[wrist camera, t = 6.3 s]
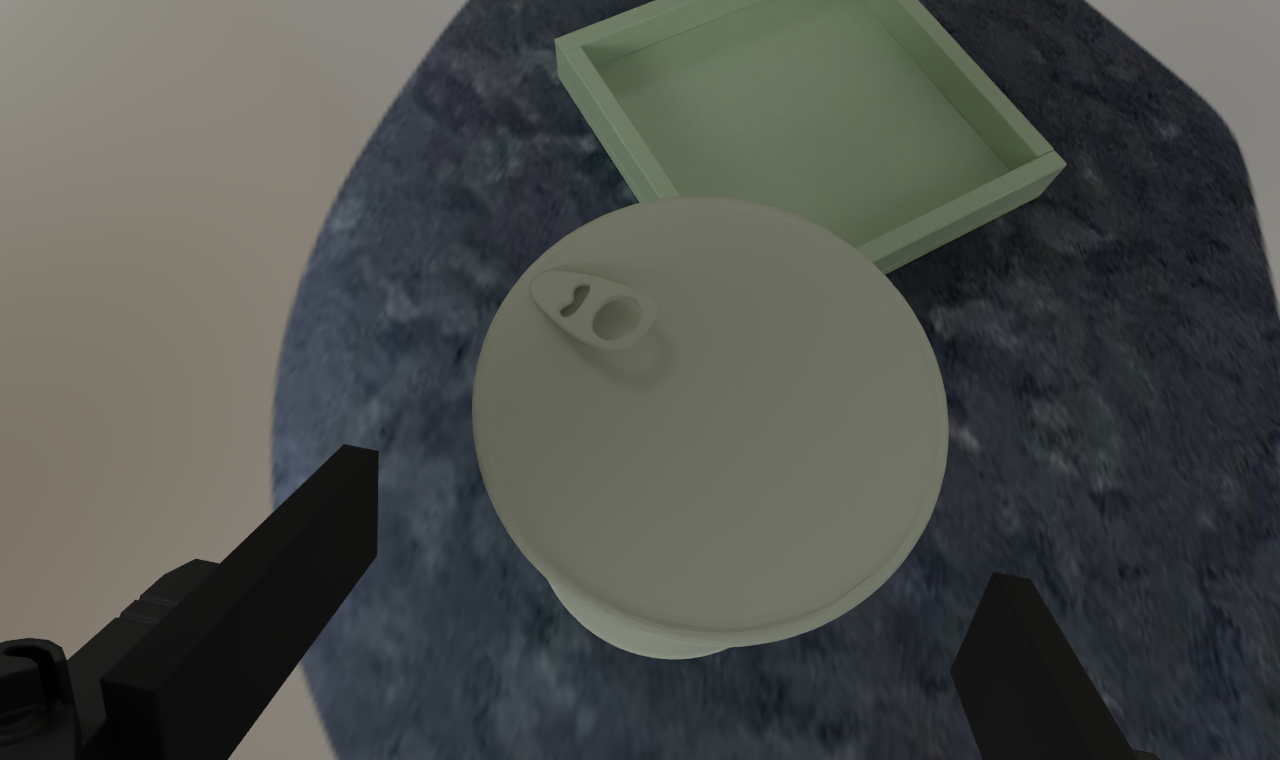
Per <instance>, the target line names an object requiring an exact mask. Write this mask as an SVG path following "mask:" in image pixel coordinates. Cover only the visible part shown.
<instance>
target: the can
mask: <svg viewBox="0 0 1280 760" xmlns="http://www.w3.org/2000/svg"><path fill="white" fill-rule="evenodd" d="M472 421H473V436H474V442H475V448H476V453H477V459H478V464H479V468H480V471H481V475H482V478H483V481H484V484H485V487H486V489H487V492H488V494H489V497H490V499H491V502H492V504H493V506H494V508H495V510H496V512H497V514H498V516H499V518H500V520H501V522H502V523H503V525H504V527H505V528H506V530H507V532H508V533H509V535H510V536H511V538H512V539H513V540H514V542H515V543H516V545H517V546H518V548H519V549H520V550H521V552H522V553H523V554H524V555H525V556H526V558H527V559H528V560H529V561H530V562H531V563H532V564H533V565H534V566H535V567H536V568H537V569H538V570H539V571H540V572H541V573H542V574H543V575H544V576H545V577H546V578H547V580H548V581H549V583H550V585H551V587H552V589H553V590H554V592H555V594H556V595H557V597H558V598H559V600H560V601H561V602H562V604H563V605H564V606H565V607H566V609H567V610H568V611H569V612H570V613H571V614H572V615H573V616H574V617H575V618H576V619H577V620H578V621H579V622H580V623H581V624H582V625H583V626H584V627H586V628H587V629H588V630H589V631H591V632H592V633H593V634H595V635H596V636H598V637H599V638H601V639H603V640H604V641H606V642H608V643H610V644H612V645H614V646H616V647H618V648H621V649H623V650H626V651H628V652H632V653H635V654H638V655H642V656H647V657H652V658H661V659H690V658H696V657H702V656H706V655H710V654H713V653H717V652H720V651H722V650H725V649H727V648H730V647H741V646H750V645H758V644H764V643H770V642H775V641H779V640H783V639H787V638H790V637H794V636H796V635H799V634H802V633H805V632H808V631H811V630H813V629H816V628H818V627H820V626H822V625H824V624H826V623H828V622H830V621H832V620H834V619H836V618H838V617H839V616H841V615H843V614H844V613H846V612H848V611H849V610H851V609H852V608H854V607H856V606H857V605H858V604H859V603H861V602H862V601H863V600H865V599H866V598H867V597H869V596H870V595H871V594H872V593H873V592H875V591H876V590H877V589H878V588H879V587H880V586H881V585H882V584H883V583H884V582H886V581H887V580H888V579H889V577H890V576H891V575H892V574H893V573H894V572H895V571H896V570H897V569H898V568H899V566H900V565H901V564H902V563H903V561H904V560H905V559H906V557H907V556H908V554H909V553H910V552H911V550H912V549H913V547H914V546H915V544H916V542H917V541H918V539H919V538H920V536H921V535H922V533H923V531H924V529H925V527H926V525H927V523H928V521H929V519H930V517H931V514H932V512H933V509H934V507H935V504H936V501H937V499H938V496H939V492H940V488H941V484H942V481H943V477H944V473H945V467H946V460H947V452H948V427H949V424H948V413H947V403H946V395H945V390H944V386H943V381H942V377H941V373H940V370H939V367H938V364H937V360H936V357H935V354H934V352H933V349H932V347H931V345H930V343H929V340H928V338H927V336H926V334H925V332H924V330H923V328H922V326H921V324H920V323H919V321H918V319H917V317H916V316H915V314H914V312H913V311H912V309H911V307H910V306H909V304H908V303H907V302H906V300H905V299H904V297H903V296H902V295H901V294H900V292H899V291H898V290H897V289H896V288H895V286H894V285H893V284H892V283H891V282H890V280H889V279H888V278H887V277H886V276H885V275H884V274H883V273H882V272H881V271H880V270H879V269H878V268H877V267H876V266H875V265H874V264H873V263H872V262H871V261H870V260H869V259H867V258H866V257H865V256H864V255H863V254H861V253H860V252H859V251H858V250H856V249H855V248H854V247H853V246H851V245H850V244H848V243H847V242H846V241H844V240H843V239H841V238H839V237H838V236H836V235H835V234H833V233H832V232H830V231H828V230H826V229H825V228H823V227H821V226H819V225H817V224H815V223H813V222H811V221H809V220H807V219H805V218H803V217H801V216H798V215H796V214H793V213H791V212H788V211H785V210H782V209H779V208H776V207H773V206H769V205H765V204H761V203H757V202H753V201H749V200H743V199H737V198H730V197H720V196H682V197H671V198H663V199H657V200H652V201H647V202H643V203H638V204H634V205H631V206H628V207H625V208H622V209H619V210H616V211H613V212H611V213H608V214H606V215H603V216H601V217H599V218H597V219H595V220H593V221H591V222H589V223H587V224H585V225H583V226H582V227H580V228H578V229H577V230H575V231H573V232H572V233H570V234H568V235H567V236H565V237H564V238H562V239H561V240H560V241H559V242H557V243H556V244H555V245H553V246H552V247H551V248H550V249H548V250H547V251H546V252H545V253H544V254H543V255H542V256H541V257H539V258H538V259H537V260H536V261H535V262H534V263H533V264H532V265H531V266H530V267H529V268H528V269H527V270H526V272H525V273H524V274H523V275H522V276H521V277H520V279H519V280H518V281H517V283H516V284H515V285H514V286H513V288H512V289H511V291H510V292H509V294H508V295H507V297H506V298H505V299H504V301H503V303H502V304H501V306H500V308H499V310H498V312H497V313H496V315H495V317H494V319H493V321H492V323H491V326H490V328H489V331H488V333H487V335H486V338H485V341H484V344H483V347H482V350H481V353H480V357H479V361H478V364H477V369H476V374H475V382H474V390H473V398H472Z"/></svg>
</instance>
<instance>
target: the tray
mask: <svg viewBox="0 0 1280 760" xmlns="http://www.w3.org/2000/svg"><path fill="white" fill-rule="evenodd" d="M555 48H556V58H557V67H558V78H559V79H560V81H561V82H562V84H563V85H564V87H565V88H566V90H567V91H568V93H569V94H570V96H571V98H572V99H573V101H574V102H575V104H576V105H577V107H578V108H579V110H580V111H581V113H582V115H583V116H584V118H585V119H586V121H587V122H588V124H589V125H590V127H591V128H592V130H593V132H594V133H595V135H596V136H597V138H598V139H599V141H600V142H601V144H602V145H603V147H604V148H605V150H606V152H607V153H608V155H609V156H610V158H611V159H612V161H613V162H614V164H615V165H616V167H617V169H618V170H619V172H620V173H621V175H622V176H623V178H624V179H625V181H626V182H627V184H628V185H629V187H630V189H631V190H632V192H633V193H634V195H635V196H636V198H637V199H638V201H639V202H640V203H643V202H647V201H652V200H657V199H663V198H671V197H682V196H720V197H730V198H737V199H743V200H749V201H753V202H757V203H761V204H765V205H769V206H773V207H776V208H779V209H782V210H785V211H788V212H791V213H793V214H796V215H798V216H801V217H803V218H805V219H807V220H809V221H811V222H813V223H815V224H817V225H819V226H821V227H823V228H825V229H826V230H828V231H830V232H832V233H833V234H835V235H836V236H838V237H839V238H841V239H843V240H844V241H846V242H847V243H848V244H850V245H851V246H853V247H854V248H855V249H856V250H858V251H859V252H860V253H861V254H863V255H864V256H865V257H866V258H867V259H869V260H870V261H871V262H872V263H873V264H874V265H875V266H876V267H877V268H878V269H879V270H880V271H881V272H882V273H883V274H884V275H885V274H887V273H889V272H891V271H893V270H895V269H897V268H899V267H901V266H903V265H905V264H907V263H909V262H911V261H913V260H915V259H917V258H919V257H921V256H923V255H925V254H927V253H929V252H931V251H933V250H935V249H937V248H938V247H940V246H942V245H944V244H946V243H948V242H950V241H952V240H954V239H956V238H958V237H960V236H962V235H964V234H966V233H968V232H970V231H972V230H974V229H976V228H978V227H980V226H982V225H984V224H986V223H988V222H990V221H992V220H994V219H996V218H998V217H999V216H1001V215H1003V214H1005V213H1007V212H1009V211H1011V210H1013V209H1015V208H1017V207H1019V206H1021V205H1023V204H1025V203H1027V202H1029V201H1031V200H1033V199H1035V198H1037V197H1039V196H1040V195H1041V193H1042V192H1043V191H1044V190H1045V188H1046V187H1047V186H1048V185H1049V184H1050V183H1051V182H1052V181H1053V180H1054V179H1055V177H1056V176H1057V175H1058V174H1059V173H1060V172H1061V171H1062V170H1063V168H1064V167H1065V166H1066V162H1065V161H1064V160H1063V159H1062V158H1061V157H1060V156H1059V155H1058V154H1057V153H1056V151H1053V147H1052V146H1051V145H1050V144H1049V143H1048V142H1047V141H1046V140H1045V139H1044V138H1043V136H1042V135H1041V134H1040V133H1039V132H1038V131H1037V130H1036V129H1035V128H1034V127H1033V125H1032V124H1031V123H1030V122H1029V121H1028V120H1027V119H1026V118H1025V117H1024V116H1023V115H1022V113H1021V112H1020V111H1019V110H1018V109H1017V108H1016V107H1015V106H1014V105H1013V104H1012V102H1011V101H1010V100H1009V99H1008V98H1007V97H1006V96H1005V95H1004V94H1003V93H1002V92H1001V90H1000V89H999V88H998V87H997V86H996V85H995V84H994V83H993V82H992V81H991V79H990V78H989V77H988V76H987V75H986V74H985V73H984V72H983V71H982V70H981V69H980V67H979V66H978V65H977V64H976V63H975V62H974V61H973V60H972V59H971V58H970V56H969V55H968V54H967V53H966V52H965V51H964V50H963V49H962V48H961V47H960V46H959V44H958V43H957V42H956V41H955V40H954V39H953V38H952V37H951V36H950V35H949V33H948V32H947V31H946V30H945V29H944V28H943V27H942V26H941V25H940V24H939V23H938V21H937V20H936V19H935V18H934V17H933V16H932V15H931V14H930V13H929V12H928V10H927V9H926V8H925V7H924V6H923V5H922V4H921V3H920V2H919V1H918V0H655V1H652V2H649V3H647V4H644V5H642V6H639V7H636V8H634V9H631V10H629V11H626V12H623V13H621V14H618V15H616V16H613V17H611V18H608V19H605V20H603V21H600V22H598V23H595V24H592V25H590V26H587V27H585V28H582V29H579V30H577V31H574V32H572V33H569V34H566V35H564V36H561V37H559V38H556V39H555Z"/></svg>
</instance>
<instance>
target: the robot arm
mask: <svg viewBox="0 0 1280 760" xmlns="http://www.w3.org/2000/svg"><path fill="white" fill-rule="evenodd" d="M378 459H379V451H376V450H371V449H366V448H361V447H355V446H350V445H345V444H344V445H343V446H342V447H341V448H340V449H339V450H338V451H337V452H336V453H334V454H333V455H332V456H331V457H330V458H329V459H328V460H327V461H326V462H325V463H324V464H323V465H322V466H321V467H320V468H319V469H318V470H317V471H316V472H315V473H314V474H313V475H312V476H311V477H309V478H308V479H307V480H306V481H305V482H304V483H303V484H302V485H301V486H300V487H299V488H298V489H297V490H296V491H295V492H294V493H293V494H292V495H291V496H290V497H289V498H288V499H287V500H286V501H285V502H283V503H282V504H281V505H280V506H279V507H278V508H277V509H276V510H275V511H274V512H273V513H272V514H271V515H270V516H269V517H268V518H267V519H266V520H265V521H264V522H263V523H262V524H261V525H260V526H259V527H257V529H255V530H254V531H253V532H252V533H251V534H250V535H249V536H248V537H247V538H246V539H245V540H244V541H243V542H242V543H241V544H240V545H239V546H238V547H237V548H236V549H235V550H233V551H232V552H231V553H230V554H229V555H228V556H227V557H226V558H225V559H224V560H223V561H222V562H221V563H220V564H219V563H214V562H209V561H204V560H199V559H194V560H192V561H190V562H189V563H186V564H184V565H182V566H180V567H179V568H177V569H175V570H172V571H170V572H168V573H167V574H164V575H163V576H162V577H161V578H160V579H159V580H158V581H156V582H155V583H154V584H153V585H152V586H151V587H150V588H148V589H147V590H146V591H145V592H144V593H143V594H142V595H140V599H139V600H135V601H134V602H133V603H132V604H130V605H129V606H128V607H127V608H126V609H125V610H124V611H122V612H121V615H120V617H119V618H115V619H113V620H112V621H111V622H110V623H109V624H108V625H107V626H106V627H104V628H103V629H102V630H101V631H100V632H99V633H98V634H96V635H95V636H94V637H93V638H92V639H91V640H90V641H89V642H88V643H86V644H85V645H84V646H83V647H82V648H81V649H80V650H78V651H77V652H76V653H75V654H74V655H73V656H72V657H70V658H69V659H68V660H66V657H65V654H64V652H63V649H62V647H60V646H58V645H57V644H55V643H53V642H51V641H50V640H43V639H34V638H25V639H18V640H11V641H5V642H2V643H0V760H228V758H229V757H230V756H231V754H232V753H233V752H234V750H235V749H236V747H237V746H238V745H239V743H240V742H241V741H242V739H243V738H244V736H245V735H246V734H247V732H248V731H249V730H250V728H251V727H252V726H253V724H254V723H255V721H256V720H257V719H258V717H259V716H260V715H261V713H262V712H263V710H264V709H265V708H266V707H267V705H268V704H269V702H270V701H271V699H272V698H273V697H274V695H275V694H276V693H277V691H278V690H279V689H280V687H281V686H282V684H283V683H284V682H285V681H286V679H287V678H288V676H289V675H290V674H291V672H292V671H293V670H294V668H295V667H296V666H297V664H298V663H299V661H300V660H301V659H302V657H303V656H304V655H305V653H306V652H307V650H308V649H309V648H310V646H311V645H312V644H313V642H314V641H315V640H316V638H317V637H318V635H319V634H320V633H321V631H322V630H323V629H324V627H325V626H326V625H327V623H328V622H329V620H330V619H331V618H332V616H333V615H334V614H335V612H336V611H337V609H338V608H339V607H340V605H341V604H342V603H343V601H344V600H345V599H346V597H347V596H348V594H349V593H350V592H351V590H352V589H353V588H354V586H355V585H356V584H357V582H358V581H359V579H360V578H361V577H362V575H363V574H364V573H365V571H366V570H367V568H368V567H369V566H370V564H371V563H372V562H373V560H374V559H375V558H376V556H377V529H378ZM950 673H951V676H952V678H953V681H954V684H955V686H956V689H957V692H958V694H959V697H960V700H961V703H962V705H963V708H964V711H965V713H966V716H967V719H968V721H969V724H970V727H971V730H972V732H973V735H974V738H975V740H976V743H977V746H978V748H979V751H980V754H981V757H982V759H983V760H1160V759H1159V758H1158V757H1157V756H1156V755H1155V754H1154V753H1149V752H1144V751H1139V750H1134V749H1132V748H1131V747H1130V745H1129V743H1128V742H1127V740H1126V738H1125V737H1124V735H1123V733H1122V732H1121V730H1120V728H1119V727H1118V725H1117V723H1116V722H1115V720H1114V718H1113V717H1112V715H1111V713H1110V712H1109V710H1108V708H1107V707H1106V705H1105V703H1104V702H1103V700H1102V698H1101V697H1100V695H1099V693H1098V691H1097V690H1096V688H1095V686H1094V685H1093V683H1092V681H1091V680H1090V678H1089V676H1088V675H1087V673H1086V671H1085V670H1084V668H1083V666H1082V665H1081V663H1080V661H1079V660H1078V658H1077V656H1076V655H1075V653H1074V651H1073V650H1072V648H1071V646H1070V645H1069V643H1068V641H1067V640H1066V638H1065V636H1064V635H1063V633H1062V631H1061V630H1060V628H1059V626H1058V625H1057V623H1056V621H1055V620H1054V618H1053V616H1052V615H1051V613H1050V611H1049V609H1048V608H1047V606H1046V604H1045V603H1044V601H1043V599H1042V598H1041V596H1040V594H1039V593H1038V591H1037V589H1036V588H1035V586H1034V584H1033V583H1032V581H1031V579H1026V578H1021V577H1016V576H1011V575H1006V574H1001V573H996V572H993V574H992V576H991V578H990V581H989V583H988V585H987V587H986V590H985V592H984V594H983V597H982V599H981V601H980V604H979V606H978V608H977V611H976V613H975V615H974V617H973V620H972V622H971V624H970V627H969V629H968V631H967V634H966V636H965V638H964V641H963V643H962V645H961V647H960V650H959V652H958V654H957V657H956V659H955V661H954V664H953V666H952V668H951V671H950Z"/></svg>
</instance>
